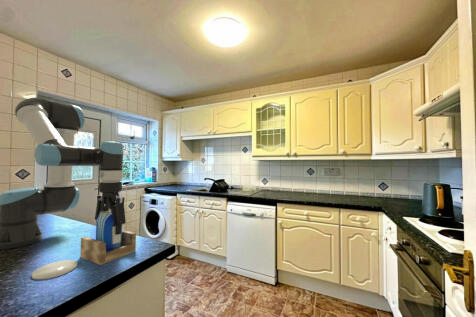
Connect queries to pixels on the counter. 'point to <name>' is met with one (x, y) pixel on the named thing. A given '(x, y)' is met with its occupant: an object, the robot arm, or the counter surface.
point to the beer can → (106, 230)
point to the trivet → (54, 269)
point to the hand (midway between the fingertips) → (109, 240)
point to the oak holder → (97, 249)
